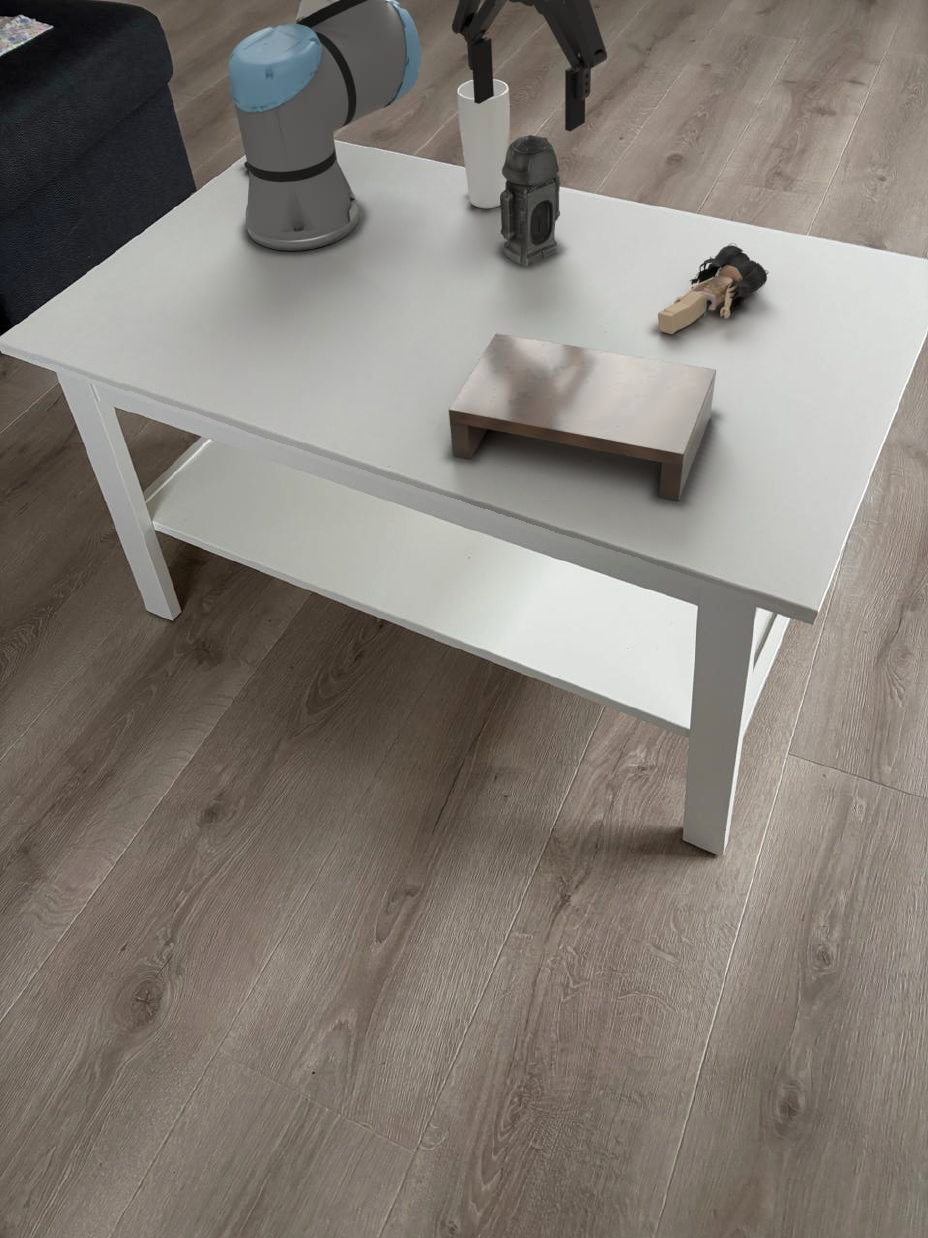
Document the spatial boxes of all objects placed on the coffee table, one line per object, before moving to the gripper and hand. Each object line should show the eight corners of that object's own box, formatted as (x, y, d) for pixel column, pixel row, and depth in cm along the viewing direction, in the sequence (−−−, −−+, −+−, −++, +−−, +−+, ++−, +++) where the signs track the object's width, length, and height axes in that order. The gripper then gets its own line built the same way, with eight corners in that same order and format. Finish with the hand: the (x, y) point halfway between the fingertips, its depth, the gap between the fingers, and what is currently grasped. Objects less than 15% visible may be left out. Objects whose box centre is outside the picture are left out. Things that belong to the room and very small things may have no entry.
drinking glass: (508, 213, 147) (504, 100, 136) (459, 211, 148) (451, 99, 137) (516, 189, 151) (513, 77, 140) (468, 187, 152) (462, 76, 141)
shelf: (452, 455, 114) (448, 409, 109) (498, 378, 122) (495, 332, 118) (678, 501, 107) (683, 454, 103) (710, 416, 115) (716, 369, 111)
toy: (540, 230, 143) (539, 115, 132) (569, 247, 140) (571, 131, 129) (490, 253, 140) (484, 138, 129) (518, 271, 137) (515, 154, 126)
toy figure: (704, 351, 124) (774, 287, 130) (702, 302, 119) (775, 238, 126) (652, 336, 128) (722, 275, 134) (648, 288, 123) (721, 227, 130)
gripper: (409, -105, 115) (428, 99, 131) (600, -69, 103) (595, 151, 119) (456, -124, 119) (468, 77, 135) (646, -92, 107) (635, 125, 123)
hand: (528, 112), depth 127 cm, fingers open, 13 cm apart
